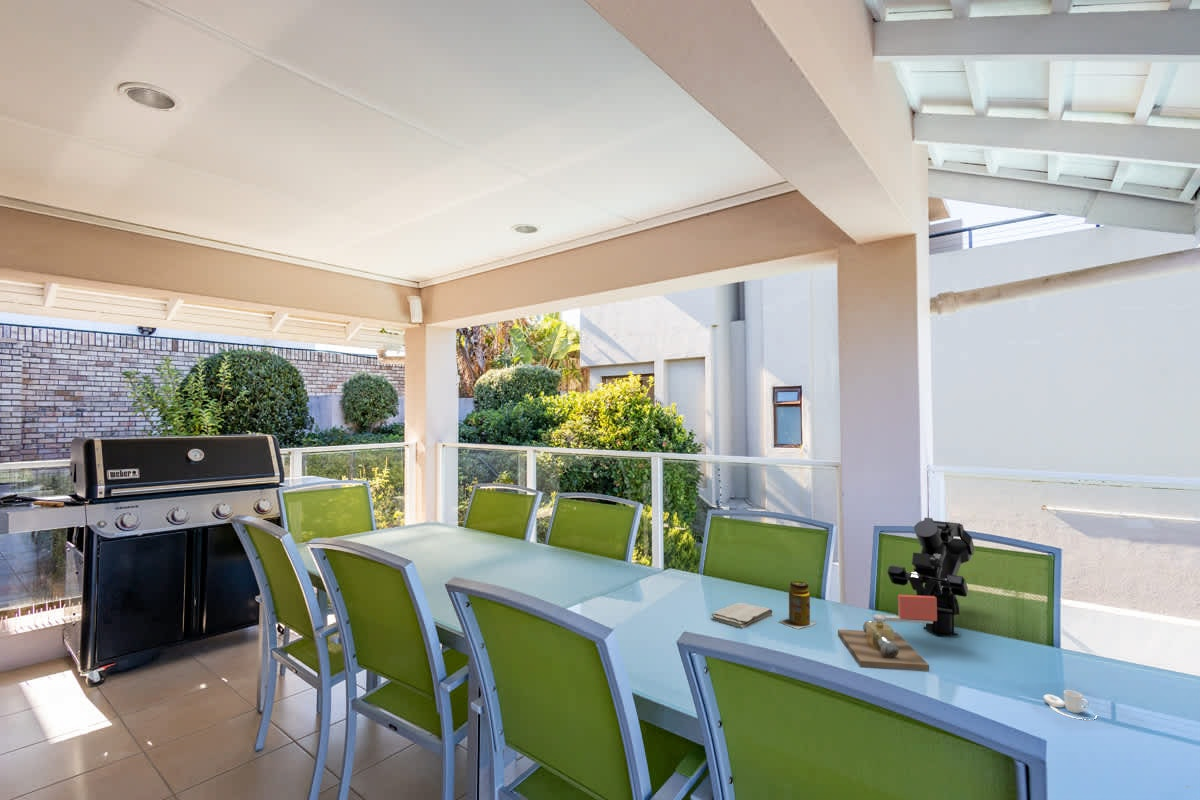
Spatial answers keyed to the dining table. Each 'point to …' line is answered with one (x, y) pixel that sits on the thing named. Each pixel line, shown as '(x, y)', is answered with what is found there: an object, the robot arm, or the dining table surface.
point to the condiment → (798, 606)
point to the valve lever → (913, 610)
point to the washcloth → (741, 615)
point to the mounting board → (875, 658)
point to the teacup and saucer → (1067, 702)
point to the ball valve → (881, 638)
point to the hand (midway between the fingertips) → (920, 607)
